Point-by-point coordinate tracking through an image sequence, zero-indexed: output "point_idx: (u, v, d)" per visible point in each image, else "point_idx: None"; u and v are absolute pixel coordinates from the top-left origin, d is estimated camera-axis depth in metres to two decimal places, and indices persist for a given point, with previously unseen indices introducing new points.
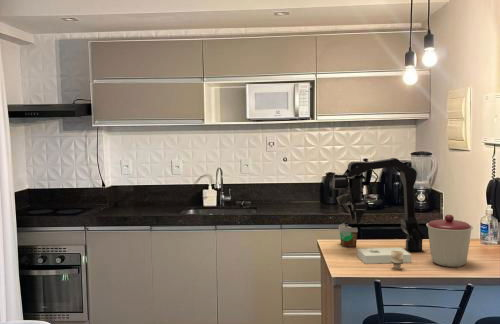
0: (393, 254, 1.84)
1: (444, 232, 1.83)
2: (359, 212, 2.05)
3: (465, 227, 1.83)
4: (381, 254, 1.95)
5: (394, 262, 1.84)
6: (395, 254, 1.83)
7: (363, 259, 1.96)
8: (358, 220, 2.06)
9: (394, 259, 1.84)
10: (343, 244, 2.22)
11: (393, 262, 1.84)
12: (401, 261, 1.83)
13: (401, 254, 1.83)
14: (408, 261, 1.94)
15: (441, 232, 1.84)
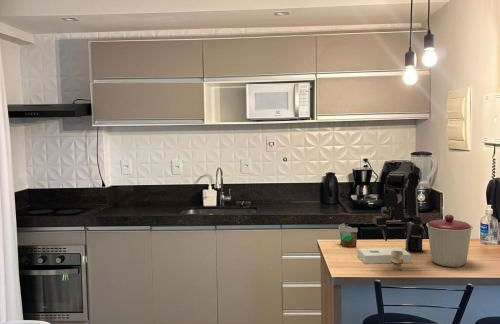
0: (393, 254, 1.84)
1: (444, 232, 1.83)
2: None
3: (465, 227, 1.83)
4: (381, 254, 1.95)
5: (394, 262, 1.84)
6: (395, 254, 1.83)
7: (363, 259, 1.96)
8: (384, 237, 1.84)
9: (394, 259, 1.84)
10: (343, 244, 2.22)
11: (393, 262, 1.84)
12: (401, 261, 1.83)
13: (401, 254, 1.83)
14: (408, 261, 1.94)
15: (441, 232, 1.84)
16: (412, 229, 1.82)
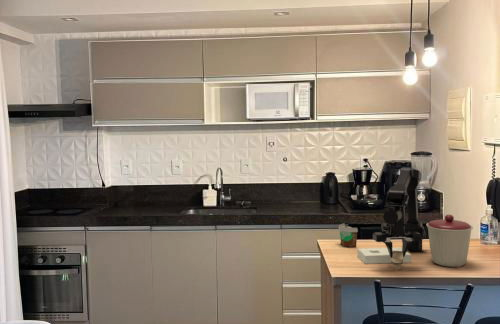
0: (393, 254, 1.84)
1: (444, 232, 1.83)
2: None
3: (465, 227, 1.83)
4: (381, 254, 1.95)
5: (394, 262, 1.84)
6: (395, 254, 1.83)
7: (363, 259, 1.96)
8: (389, 254, 1.85)
9: (394, 259, 1.84)
10: (343, 244, 2.22)
11: (393, 262, 1.84)
12: (401, 261, 1.83)
13: (401, 254, 1.83)
14: (408, 261, 1.94)
15: (441, 232, 1.84)
16: (407, 246, 1.83)
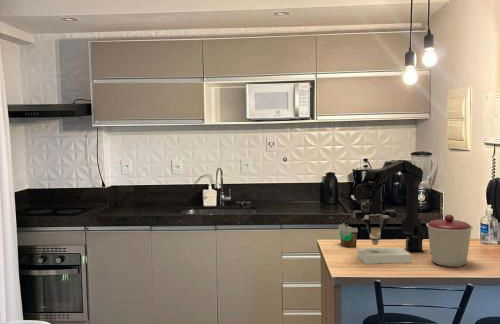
0: (371, 230, 1.97)
1: (444, 232, 1.83)
2: None
3: (465, 227, 1.83)
4: (381, 254, 1.95)
5: (372, 238, 1.97)
6: (373, 230, 1.96)
7: (363, 259, 1.96)
8: (368, 230, 1.98)
9: (372, 235, 1.97)
10: (343, 244, 2.22)
11: (371, 238, 1.97)
12: (379, 237, 1.97)
13: (379, 230, 1.96)
14: (408, 261, 1.94)
15: (441, 232, 1.84)
16: (384, 223, 1.96)
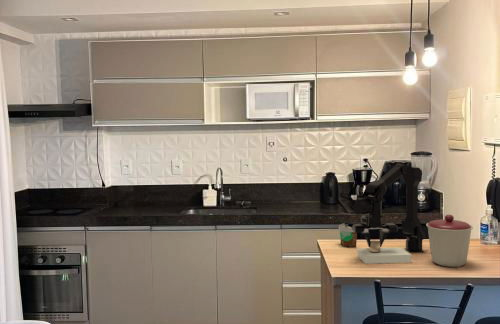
0: (371, 243, 1.98)
1: (444, 232, 1.83)
2: None
3: (465, 227, 1.83)
4: (381, 254, 1.95)
5: (372, 251, 1.97)
6: (373, 243, 1.97)
7: (363, 259, 1.96)
8: (368, 243, 1.99)
9: (371, 248, 1.97)
10: (343, 244, 2.22)
11: (371, 251, 1.98)
12: (378, 250, 1.97)
13: (378, 243, 1.97)
14: (408, 261, 1.94)
15: (441, 232, 1.84)
16: (384, 236, 1.96)
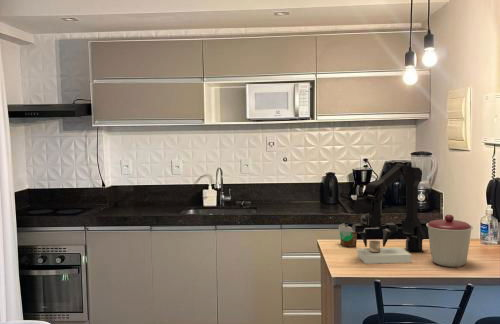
0: (371, 243, 1.98)
1: (444, 232, 1.83)
2: None
3: (465, 227, 1.83)
4: (381, 254, 1.95)
5: (372, 251, 1.97)
6: (373, 243, 1.97)
7: (363, 259, 1.96)
8: (364, 243, 1.99)
9: (371, 248, 1.97)
10: (343, 244, 2.22)
11: (371, 251, 1.98)
12: (378, 250, 1.97)
13: (378, 243, 1.97)
14: (408, 261, 1.94)
15: (441, 232, 1.84)
16: (387, 236, 1.96)
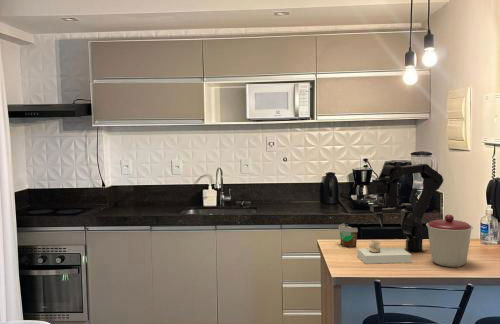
0: (371, 243, 1.98)
1: (444, 232, 1.83)
2: None
3: (465, 227, 1.83)
4: (381, 254, 1.95)
5: (372, 251, 1.97)
6: (373, 243, 1.97)
7: (363, 259, 1.96)
8: (380, 223, 2.07)
9: (371, 248, 1.97)
10: (343, 244, 2.22)
11: (371, 251, 1.98)
12: (378, 250, 1.97)
13: (378, 243, 1.97)
14: (408, 261, 1.94)
15: (441, 232, 1.84)
16: (405, 216, 2.05)
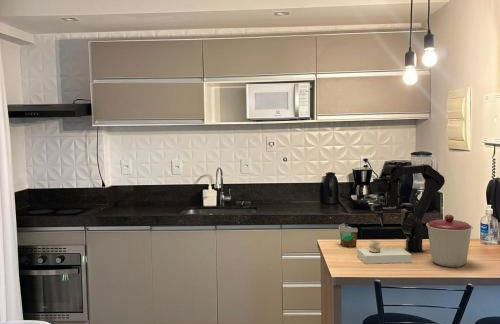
0: (371, 243, 1.98)
1: (444, 232, 1.83)
2: (380, 214, 2.07)
3: (465, 227, 1.83)
4: (381, 254, 1.95)
5: (372, 251, 1.97)
6: (373, 243, 1.97)
7: (363, 259, 1.96)
8: (381, 222, 2.07)
9: (371, 248, 1.97)
10: (343, 244, 2.22)
11: (371, 251, 1.98)
12: (378, 250, 1.97)
13: (378, 243, 1.97)
14: (408, 261, 1.94)
15: (441, 232, 1.84)
16: (405, 215, 2.05)
